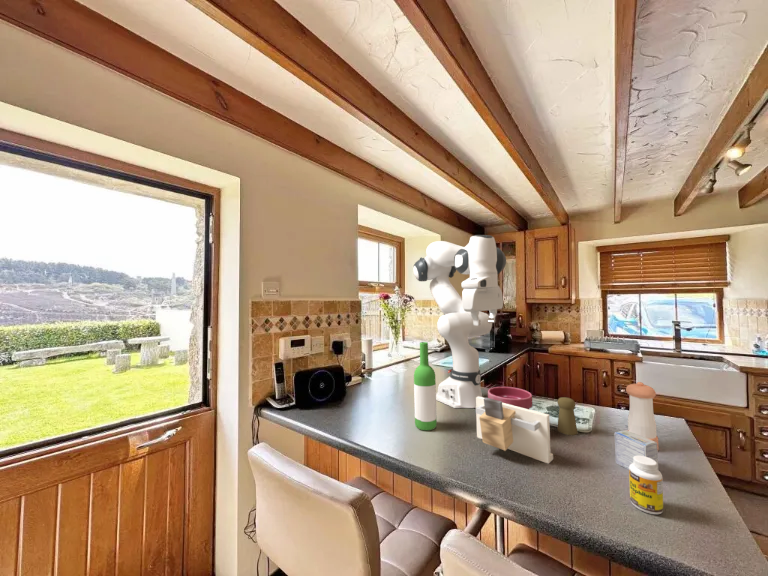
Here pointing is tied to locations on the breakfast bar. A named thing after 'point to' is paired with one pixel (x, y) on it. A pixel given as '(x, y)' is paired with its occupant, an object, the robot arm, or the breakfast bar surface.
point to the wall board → (524, 431)
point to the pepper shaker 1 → (566, 416)
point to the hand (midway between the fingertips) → (484, 324)
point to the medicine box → (633, 448)
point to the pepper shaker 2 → (642, 411)
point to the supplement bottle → (646, 485)
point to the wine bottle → (425, 392)
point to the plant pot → (511, 396)
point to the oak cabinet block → (496, 424)
